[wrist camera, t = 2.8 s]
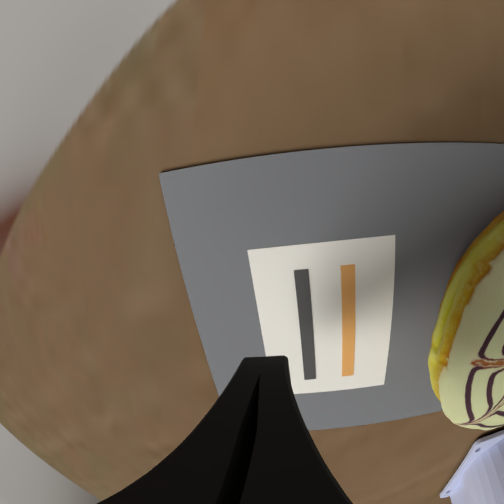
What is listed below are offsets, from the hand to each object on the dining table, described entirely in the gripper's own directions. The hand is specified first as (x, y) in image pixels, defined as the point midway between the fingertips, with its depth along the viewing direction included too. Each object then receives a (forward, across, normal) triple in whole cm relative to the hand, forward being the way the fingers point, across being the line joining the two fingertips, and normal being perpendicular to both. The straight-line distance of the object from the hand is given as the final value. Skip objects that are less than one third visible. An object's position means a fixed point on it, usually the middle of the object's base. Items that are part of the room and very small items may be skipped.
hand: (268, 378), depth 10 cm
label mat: (+3, -7, 0) cm, 8 cm away
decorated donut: (+3, -11, 0) cm, 11 cm away
